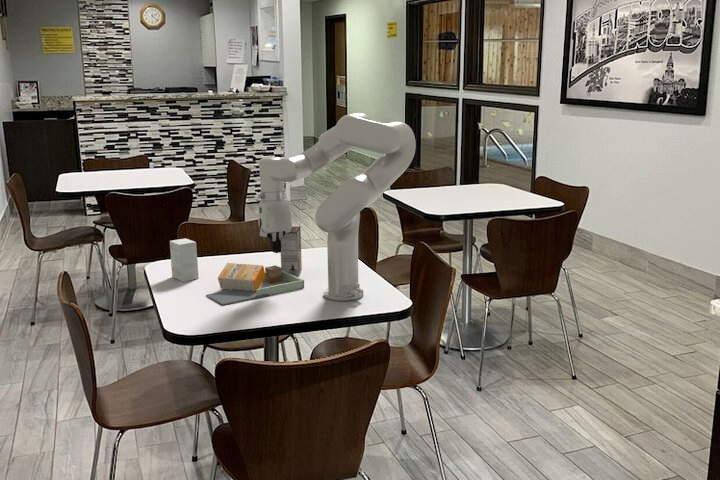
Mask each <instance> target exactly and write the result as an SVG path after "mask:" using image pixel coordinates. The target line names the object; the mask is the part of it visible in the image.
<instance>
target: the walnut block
mask: <svg viewBox="0 0 720 480" xmlns="http://www.w3.org/2000/svg"><path fill="white" fill-rule="evenodd" d="M264 271H265V275H266V281H265V283H267V284H268V283H269V284H270V285H275V284H278V283H280V284H281V283H283V279H282V270H281V266H278V265H271V266H264Z"/></svg>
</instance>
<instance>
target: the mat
mask: <svg viewBox="0 0 720 480" xmlns="http://www.w3.org/2000/svg"><path fill="white" fill-rule="evenodd" d="M205 296H206V297H207V298H209V299H210V300H212V301H214V302H215V303H217V304H219V305H220V306H227V305H232V304H236V303H237V304H238V303H243V302H248V301H251V300H252V301H253V300H257V299H260V298H265V297H269V296H270V295H269V294H264V295H259V296H257V293H256V291H246V290H234V289H226V290H223V291H217V292H212V293H209V294H205Z"/></svg>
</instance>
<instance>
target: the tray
mask: <svg viewBox="0 0 720 480" xmlns="http://www.w3.org/2000/svg"><path fill="white" fill-rule="evenodd" d="M282 280H283V281H286V283H280V284H276V285H275V284H274V285H272V286H271V285H270V286H266V287H262V288H260V287H259V289H256V293H257V296H259V295H264V294H269V296H270V295H275V294H279V293H280V294H281V293H284V292H285V293H286V292H289V291H293V290H299V289H303V288H305V280H304V279H302V278H300V277H295V276H293V275H291V274H288V273H286V272H284V271H282ZM263 282H266V277H265V278H264V280H263Z"/></svg>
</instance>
